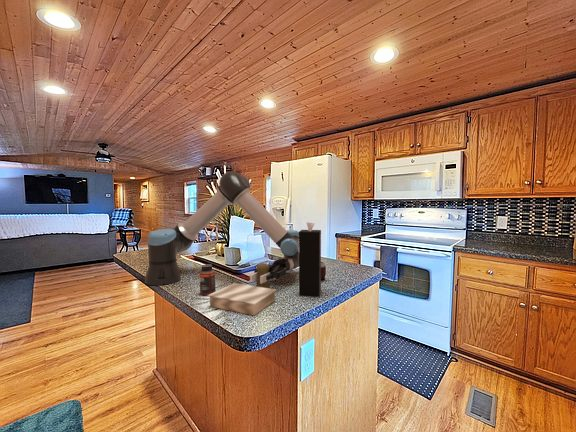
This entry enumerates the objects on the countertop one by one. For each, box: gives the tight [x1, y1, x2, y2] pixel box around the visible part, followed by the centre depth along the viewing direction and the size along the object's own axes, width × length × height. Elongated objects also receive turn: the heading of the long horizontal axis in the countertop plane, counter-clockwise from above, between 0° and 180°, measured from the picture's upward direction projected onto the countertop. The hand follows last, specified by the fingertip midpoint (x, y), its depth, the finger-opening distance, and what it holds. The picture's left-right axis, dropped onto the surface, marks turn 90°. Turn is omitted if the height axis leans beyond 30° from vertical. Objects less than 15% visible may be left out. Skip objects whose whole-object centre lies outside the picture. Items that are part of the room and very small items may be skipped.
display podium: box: [207, 282, 277, 316], centre depth 94 cm, size 19×15×4 cm
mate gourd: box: [321, 261, 327, 281], centre depth 122 cm, size 8×8×15 cm
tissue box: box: [298, 222, 322, 297], centre depth 104 cm, size 8×8×28 cm
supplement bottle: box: [198, 263, 217, 296], centre depth 104 cm, size 6×6×11 cm
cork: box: [255, 262, 271, 289], centre depth 106 cm, size 6×6×11 cm
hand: (255, 279), depth 101 cm, fingers closed on cork, 4 cm apart
